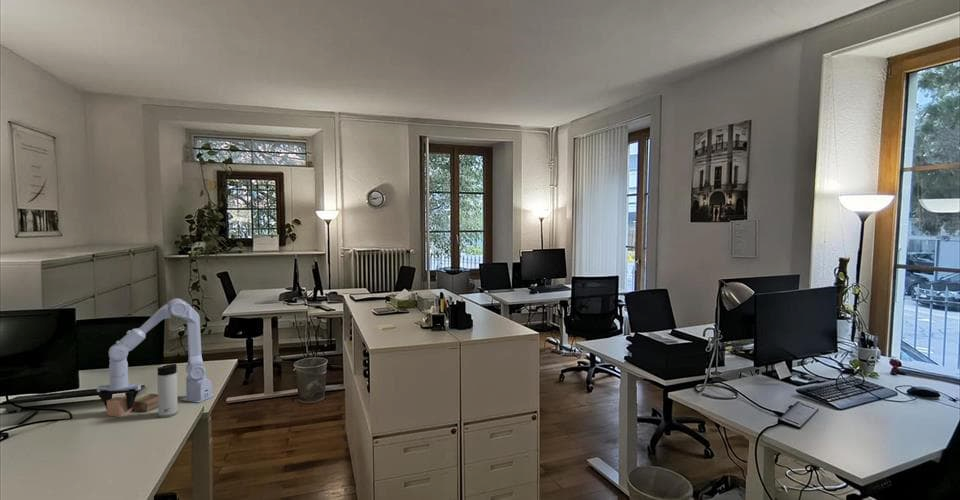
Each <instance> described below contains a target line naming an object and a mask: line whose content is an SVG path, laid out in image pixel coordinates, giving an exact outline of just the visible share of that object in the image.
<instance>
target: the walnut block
mask: <svg viewBox="0 0 960 500" xmlns="http://www.w3.org/2000/svg"><path fill="white" fill-rule="evenodd" d="M157 409H158V393H157V394H156V393H149V394H147V395H143V396H141V397H137V398H135V400H134V404H133V407H132V411H137V410H138V412H143V411H144V412H145V413H148V412H151V411H153V410H157Z"/></svg>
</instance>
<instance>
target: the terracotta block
mask: <svg viewBox="0 0 960 500" xmlns="http://www.w3.org/2000/svg"><path fill="white" fill-rule="evenodd" d="M131 412H133V410H132V408H131V409H128V407H127V398H126V395H123V394H121V395H118V396H114V397H112V399H109V400H107V410H106V415H107V416H110V417H116V416H117V418H119V416H120V417H122V416H124V415H126V414H129V413H131Z"/></svg>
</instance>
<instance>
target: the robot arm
mask: <svg viewBox="0 0 960 500" xmlns="http://www.w3.org/2000/svg"><path fill="white" fill-rule="evenodd" d="M172 316H173V317H177V318H181V319H183V320H184V321H186V330H187V349H188V350H187V351H188V358H187V359H188V360H187V365H186V367H185V370H186V373H187V374H188V375H187V376H186V377H185V384H186V385H185V386H186V389H185V391H186V393H185V394H186V396H185V397H183V398H181V401H186V402H191V403H197V404H199V403H201V402H203V401H206V400H208V399H210V398H213V397H214V396H215V394H213V382H212V380H211V379H209V378H207V375H206V373H207V369H206V368H205V366H204V361H203V357H202V338H201V336H202V335H201V319H200V317H201V316H200V314H199V313H198V312H197V311H196V310H195V309H194V308H193V306H192V305H191V304H189V302H187V301H186V300H184V299H182V298H179V297H178V298H173V299H171V300H169V301H168V303H165V304H164V305H163V306H161V307H160V308H159V309H158V310H157V311H155V313H154V314H153V315H151V316H150V317H149V319H147V320H146V321H145V322H144V323H143V324H142V325H141V326H140V327H137V328H132V329H131V330H130V329H129V330H127V331H126V334H125V335H124V336H123V337H122V338H121V339H120V340H116V341H115V343H114V344H113V345H112V346H110V348H109V350H108V357H109V365H108V370H109V374H108V375H109V376H108V377H109V384H104V385H103V384H102V385H99V386H97V387H96V393H98V397H99V398H100V399H101V401H102V402H103V404H104V407H105V409H106V411H107V400H109V399H112V398H113V394H114V392H115V391H116V392H118V391H120V392H121V391H123V392H124V391H126V392H124V394H125V395H124V396H126V398H127V407H128V409H131V408H132V407H133V404H134V400H135V399H136V397H137V395H138V393H139V391H140V390H141V389H142V384H141V383H132V382H131V383H130V382H129V363H128V355H129V352H131V351H133V350H134V349H135V348H136V347H137V346H138V345H140V344H141V343H142V342H143V341H144V340H145V339H146V336H147V333H148V332H149V331H151V330H152V329H153V328H154V327H156V326H157V325H158V324H159V323H160V322H161V321H163V320H166V319H171V318H172Z"/></svg>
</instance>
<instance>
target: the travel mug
mask: <svg viewBox="0 0 960 500" xmlns="http://www.w3.org/2000/svg"><path fill="white" fill-rule="evenodd" d="M157 394H158V408H157V409H158V410H157V412H158V413H157V414H158V417H159V418H164V419H165V418H166V419H167V418H171V417H173V416H176V415H177V414H178V411H179V409H178V406H179V405H178V370H177V364H176V363H171V364H166V365H163V366H159V367H157Z"/></svg>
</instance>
